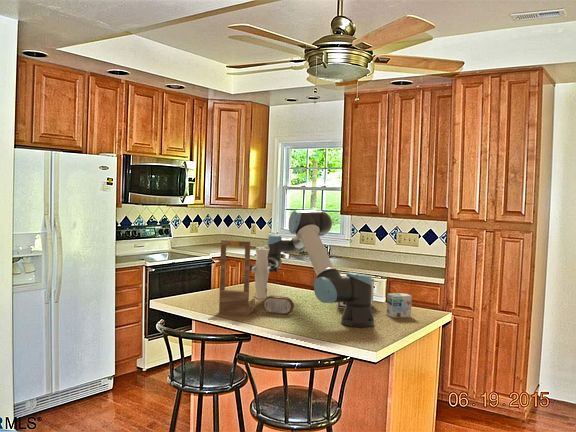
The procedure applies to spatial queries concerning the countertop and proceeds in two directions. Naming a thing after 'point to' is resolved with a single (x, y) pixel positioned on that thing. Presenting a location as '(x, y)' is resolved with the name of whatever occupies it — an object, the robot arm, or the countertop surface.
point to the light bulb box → (399, 305)
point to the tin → (278, 305)
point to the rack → (235, 299)
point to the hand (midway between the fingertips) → (259, 270)
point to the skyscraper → (261, 273)
